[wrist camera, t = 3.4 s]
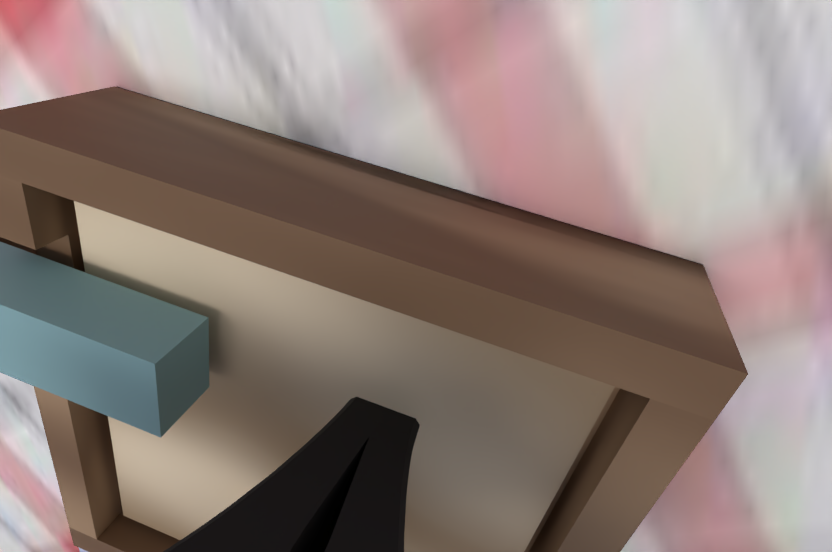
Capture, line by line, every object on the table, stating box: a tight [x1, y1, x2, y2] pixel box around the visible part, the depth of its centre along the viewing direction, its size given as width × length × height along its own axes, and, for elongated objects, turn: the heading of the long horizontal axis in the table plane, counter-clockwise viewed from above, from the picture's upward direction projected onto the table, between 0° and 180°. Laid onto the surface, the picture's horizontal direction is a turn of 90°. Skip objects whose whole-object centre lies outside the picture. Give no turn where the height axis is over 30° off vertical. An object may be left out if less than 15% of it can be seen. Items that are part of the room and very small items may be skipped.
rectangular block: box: [0, 242, 209, 438], centre depth 11 cm, size 2×8×2 cm, turn 77°
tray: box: [0, 87, 748, 552], centre depth 14 cm, size 14×18×4 cm
